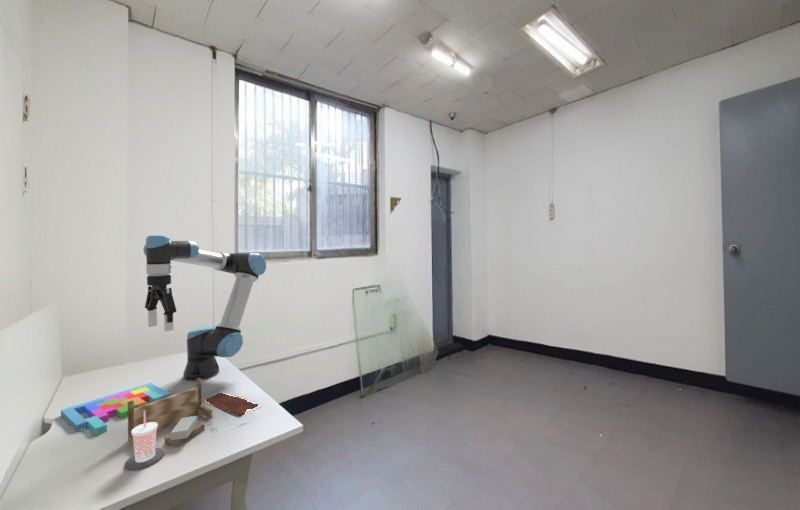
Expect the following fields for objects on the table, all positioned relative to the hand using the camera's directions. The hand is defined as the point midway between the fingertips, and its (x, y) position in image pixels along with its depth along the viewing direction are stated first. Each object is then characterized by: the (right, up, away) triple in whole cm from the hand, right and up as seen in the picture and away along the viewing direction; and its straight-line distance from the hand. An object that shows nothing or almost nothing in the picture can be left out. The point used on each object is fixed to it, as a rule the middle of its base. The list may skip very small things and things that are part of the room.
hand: (160, 328), depth 124 cm
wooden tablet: (+26, -32, +4) cm, 41 cm away
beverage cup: (+19, -31, -31) cm, 48 cm away
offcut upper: (+23, -30, -20) cm, 42 cm away
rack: (+15, -31, -15) cm, 38 cm away
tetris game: (-14, -32, -1) cm, 35 cm away
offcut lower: (+23, -32, -19) cm, 44 cm away
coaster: (+19, -32, -31) cm, 48 cm away
